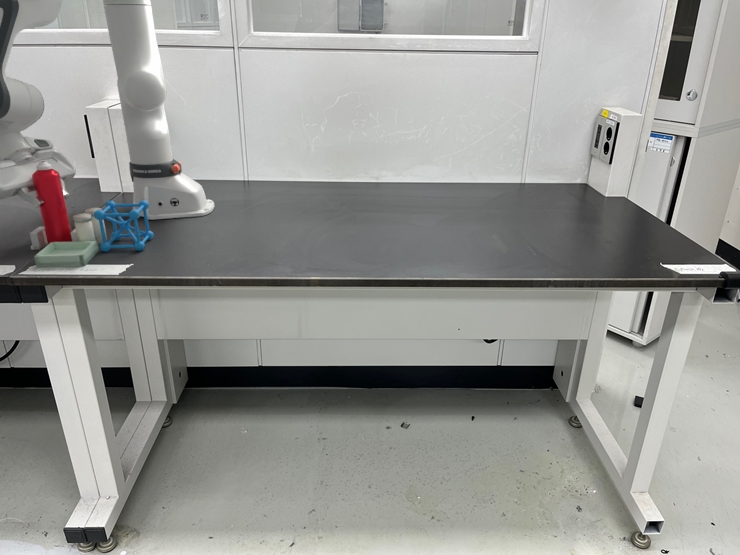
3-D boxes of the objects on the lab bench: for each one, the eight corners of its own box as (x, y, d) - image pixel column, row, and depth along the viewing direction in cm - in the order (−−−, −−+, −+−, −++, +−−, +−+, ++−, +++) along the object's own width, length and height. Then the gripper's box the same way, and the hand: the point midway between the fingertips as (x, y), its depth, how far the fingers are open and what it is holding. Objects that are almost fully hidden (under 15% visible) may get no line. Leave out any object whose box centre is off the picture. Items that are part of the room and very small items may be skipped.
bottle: (45, 250, 129) (25, 164, 121) (52, 242, 134) (33, 159, 126) (70, 248, 130) (52, 163, 122) (77, 241, 135) (59, 158, 127)
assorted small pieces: (113, 235, 139) (108, 204, 136) (84, 265, 121) (77, 231, 118) (47, 236, 138) (40, 205, 134) (8, 267, 119) (-2, 232, 116)
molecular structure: (113, 238, 137) (106, 199, 133) (155, 237, 138) (149, 198, 134) (99, 253, 128) (91, 211, 124) (144, 252, 129) (137, 211, 125)
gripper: (-28, 154, 116) (16, 204, 117) (55, 139, 134) (94, 183, 135) (-37, 173, 120) (7, 222, 120) (46, 156, 137) (83, 198, 138)
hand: (53, 201), depth 128 cm, fingers closed on bottle, 5 cm apart
